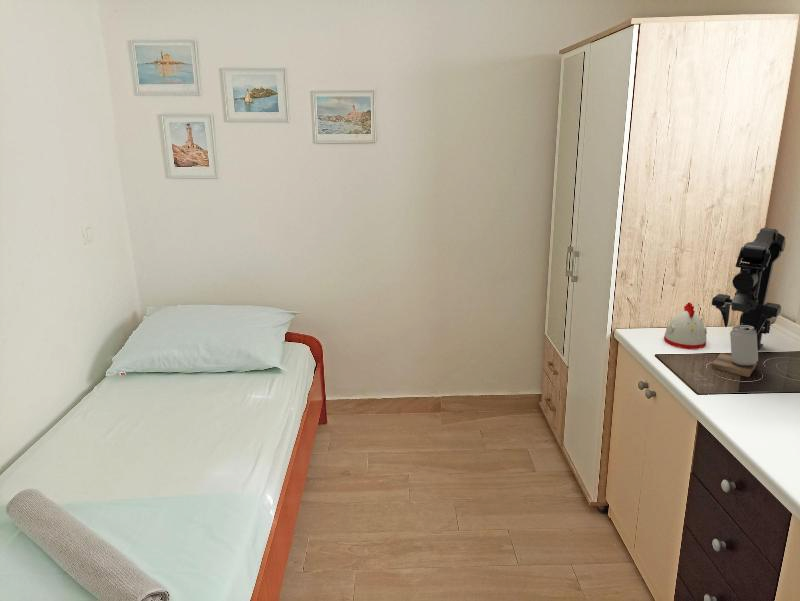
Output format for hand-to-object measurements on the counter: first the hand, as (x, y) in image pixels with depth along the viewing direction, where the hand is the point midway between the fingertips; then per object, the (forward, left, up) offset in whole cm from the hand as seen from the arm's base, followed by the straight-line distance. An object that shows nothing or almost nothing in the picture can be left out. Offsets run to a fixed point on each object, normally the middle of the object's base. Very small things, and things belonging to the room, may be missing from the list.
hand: (741, 330), depth 195 cm
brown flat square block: (+1, 0, -14) cm, 14 cm away
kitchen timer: (-11, -20, -13) cm, 27 cm away
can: (0, +3, -11) cm, 11 cm away
